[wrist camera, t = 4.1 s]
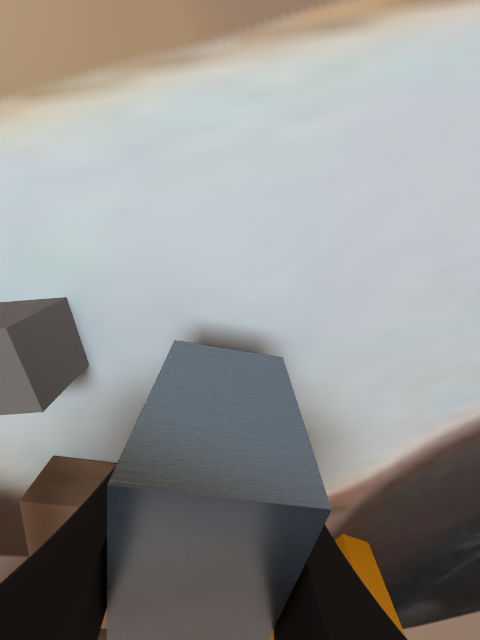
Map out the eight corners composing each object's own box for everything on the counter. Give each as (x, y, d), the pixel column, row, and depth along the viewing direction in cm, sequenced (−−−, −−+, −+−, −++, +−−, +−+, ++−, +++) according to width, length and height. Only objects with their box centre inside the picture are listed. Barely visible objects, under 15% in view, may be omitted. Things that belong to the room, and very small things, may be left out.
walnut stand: (64, 574, 23) (41, 624, 20) (53, 455, 18) (19, 501, 15) (225, 587, 24) (224, 636, 21) (258, 480, 19) (262, 526, 16)
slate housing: (157, 495, 14) (106, 683, 8) (174, 340, 11) (107, 484, 5) (240, 504, 14) (243, 690, 9) (282, 357, 11) (331, 509, 5)
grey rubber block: (20, 368, 15) (-48, 418, 12) (-9, 302, 14) (-98, 335, 10) (89, 363, 15) (43, 411, 12) (67, 296, 14) (5, 328, 10)
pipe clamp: (307, 612, 26) (327, 730, 20) (269, 602, 26) (278, 722, 20) (384, 546, 22) (437, 668, 16) (341, 531, 22) (381, 654, 16)
